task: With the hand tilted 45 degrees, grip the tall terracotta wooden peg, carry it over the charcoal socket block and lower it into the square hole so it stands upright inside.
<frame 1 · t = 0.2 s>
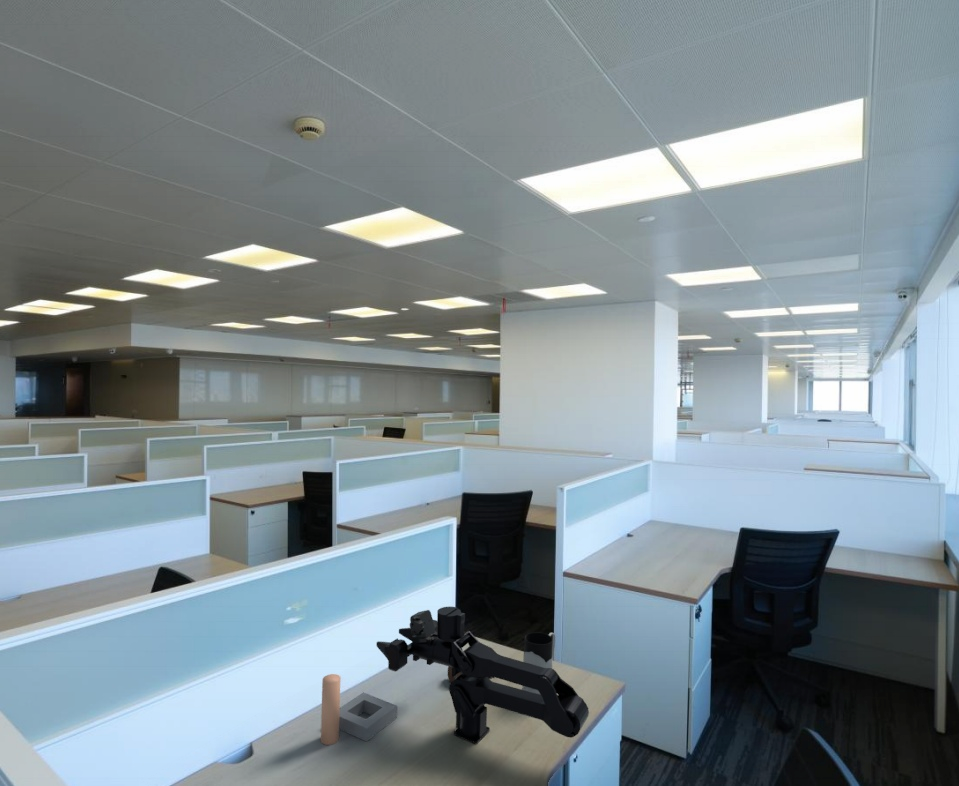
hand: (388, 637, 144), 17 cm above the table, tool horizontal, fingers open, 9 cm apart
socket block: (364, 721, 135), on the table
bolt: (475, 679, 157), on the table
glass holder: (541, 690, 152), on the table
peg: (329, 739, 128), on the table
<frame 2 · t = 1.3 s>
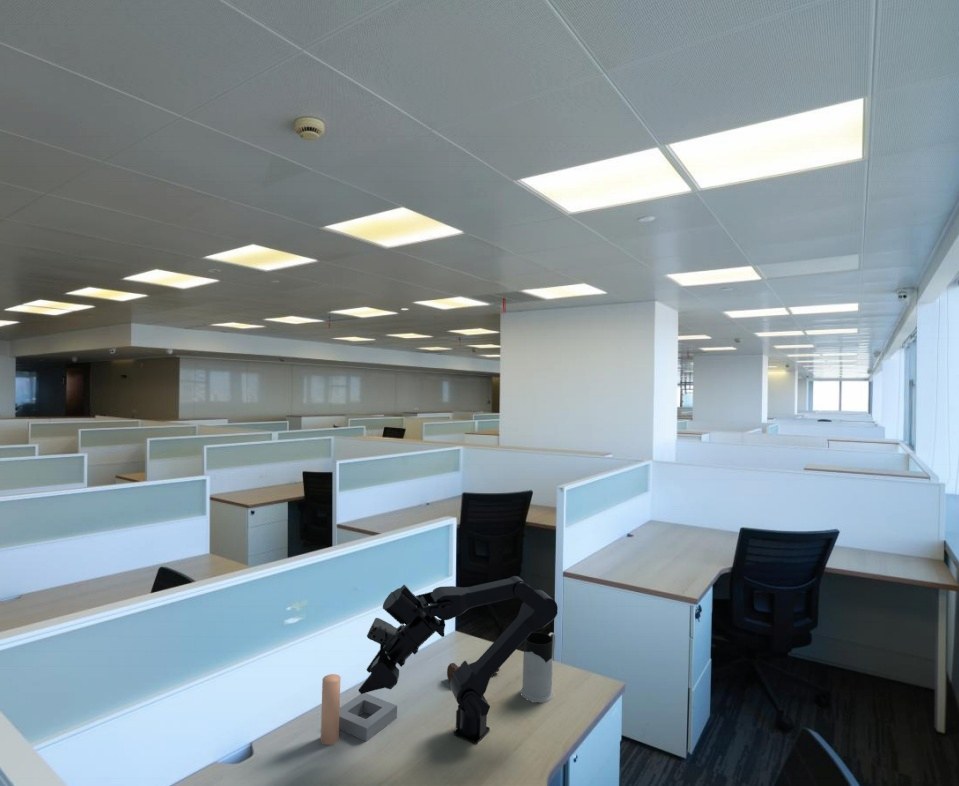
hand: (363, 681, 128), 14 cm above the table, tool tilted 45°, fingers open, 9 cm apart
nothing on the table moved.
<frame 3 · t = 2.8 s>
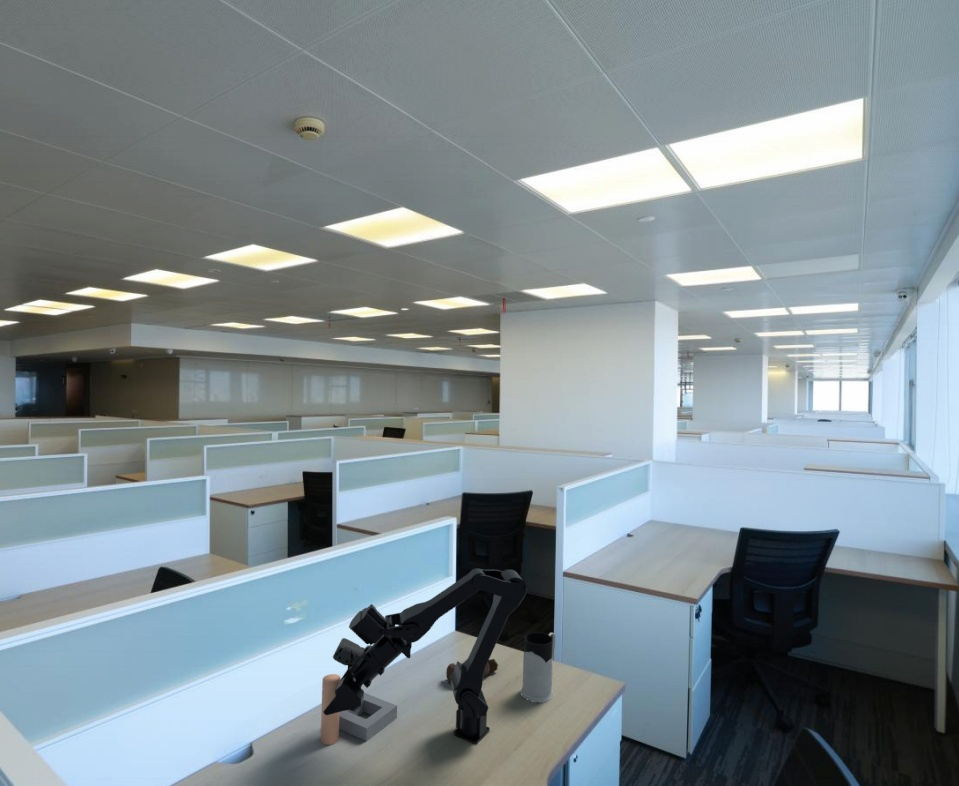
hand: (330, 701, 128), 9 cm above the table, tool tilted 45°, fingers open, 9 cm apart
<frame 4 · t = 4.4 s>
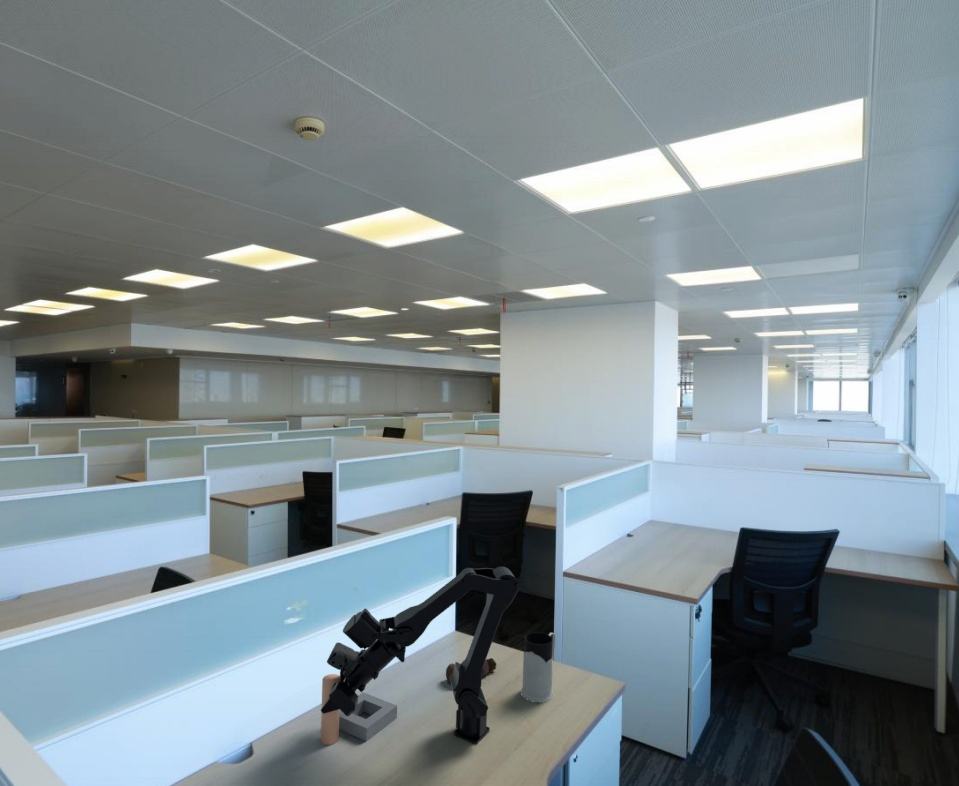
hand: (324, 706, 128), 8 cm above the table, tool tilted 45°, fingers closed on peg, 4 cm apart
peg: (329, 739, 128), on the table, touching gripper
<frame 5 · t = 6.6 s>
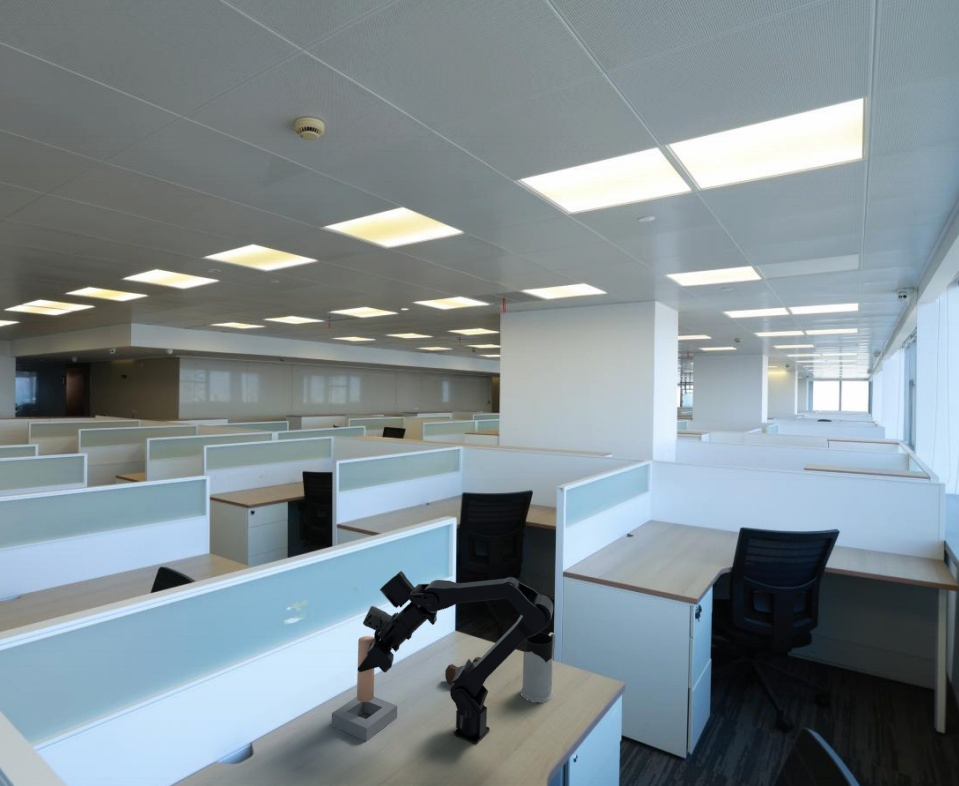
hand: (360, 666, 135), 13 cm above the table, tool tilted 45°, fingers closed on peg, 4 cm apart
peg: (365, 697, 135), point 6 cm above the table, touching gripper
when the fingers open (10 cm above the table, at t = 8.8 s): peg drops 2 cm, resting in socket block.
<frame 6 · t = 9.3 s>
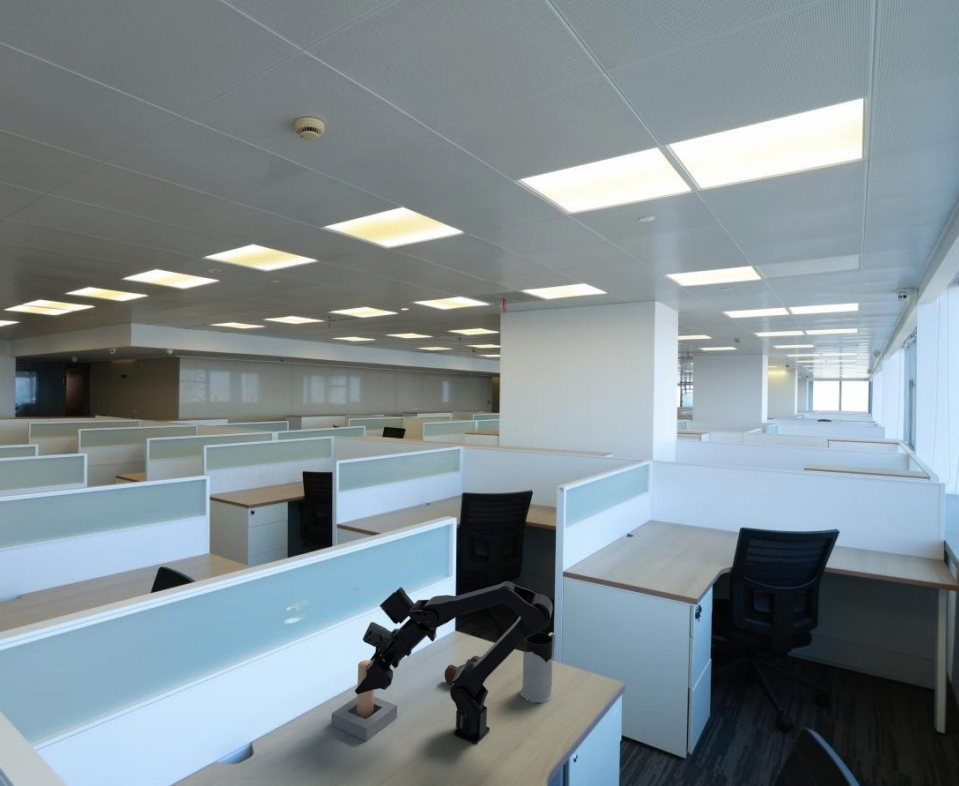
hand: (360, 682, 135), 10 cm above the table, tool tilted 45°, fingers open, 9 cm apart
peg: (364, 721, 135), resting in socket block
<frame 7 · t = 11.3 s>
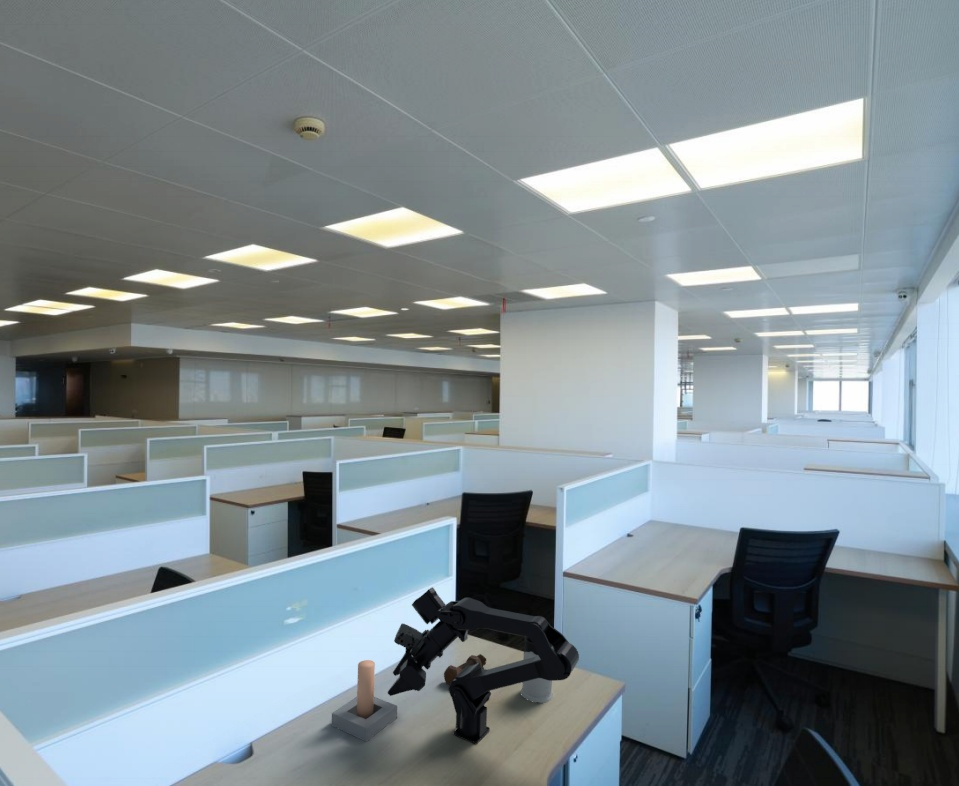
hand: (391, 683, 135), 9 cm above the table, tool tilted 45°, fingers open, 9 cm apart
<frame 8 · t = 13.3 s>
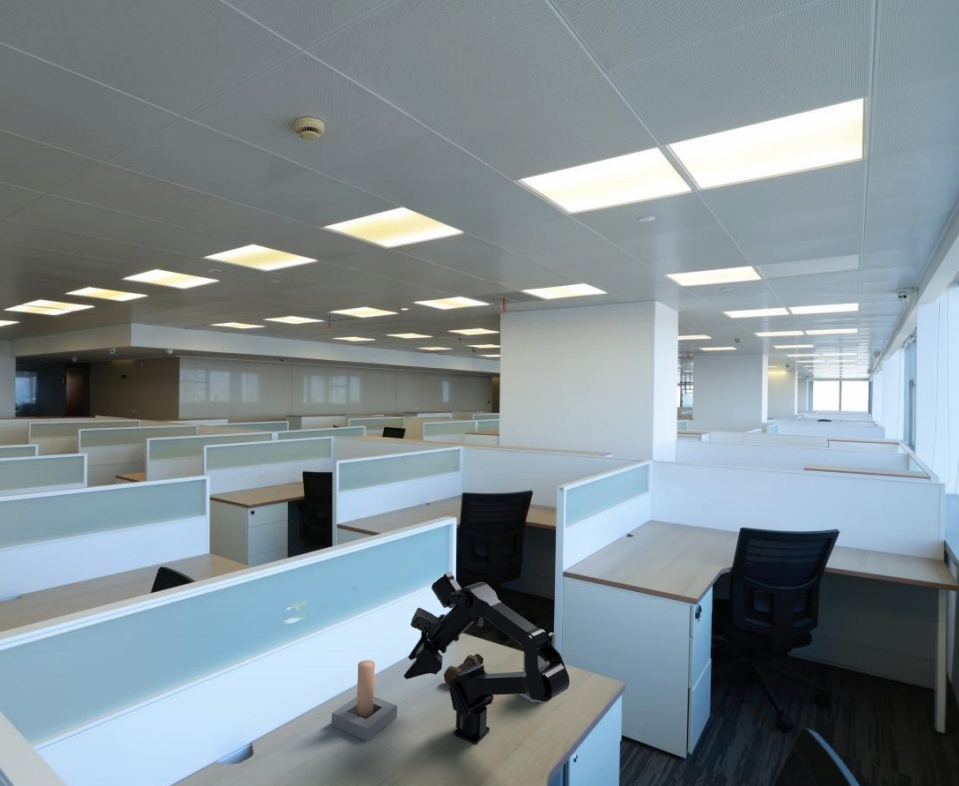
hand: (407, 667, 135), 14 cm above the table, tool tilted 45°, fingers open, 9 cm apart
at the end: peg 0.0 cm off-centre on the socket block, point 0.0 cm above the socket block's base; peg tilted 0°; the gripper is holding nothing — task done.
